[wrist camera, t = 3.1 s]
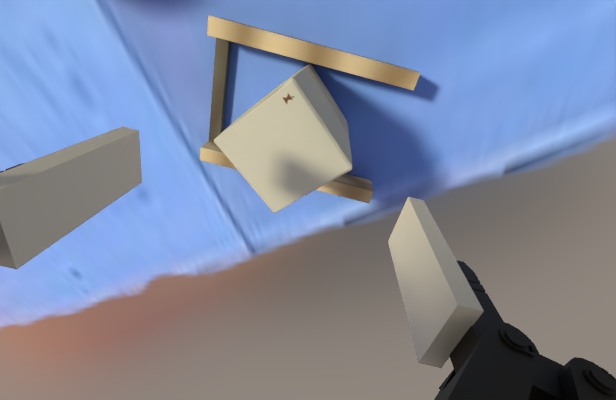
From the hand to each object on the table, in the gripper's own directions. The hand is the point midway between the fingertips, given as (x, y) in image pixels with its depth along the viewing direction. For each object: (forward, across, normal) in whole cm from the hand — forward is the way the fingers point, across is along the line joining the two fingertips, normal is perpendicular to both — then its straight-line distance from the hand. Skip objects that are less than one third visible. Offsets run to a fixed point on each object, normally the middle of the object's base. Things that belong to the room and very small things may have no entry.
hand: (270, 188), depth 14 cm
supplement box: (+19, 0, 0) cm, 19 cm away
